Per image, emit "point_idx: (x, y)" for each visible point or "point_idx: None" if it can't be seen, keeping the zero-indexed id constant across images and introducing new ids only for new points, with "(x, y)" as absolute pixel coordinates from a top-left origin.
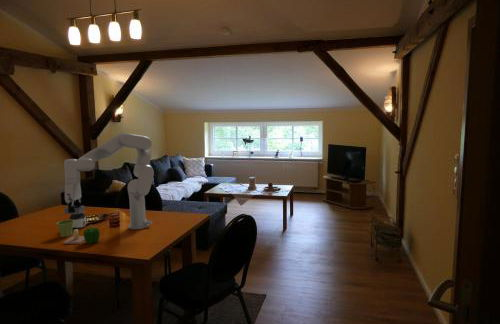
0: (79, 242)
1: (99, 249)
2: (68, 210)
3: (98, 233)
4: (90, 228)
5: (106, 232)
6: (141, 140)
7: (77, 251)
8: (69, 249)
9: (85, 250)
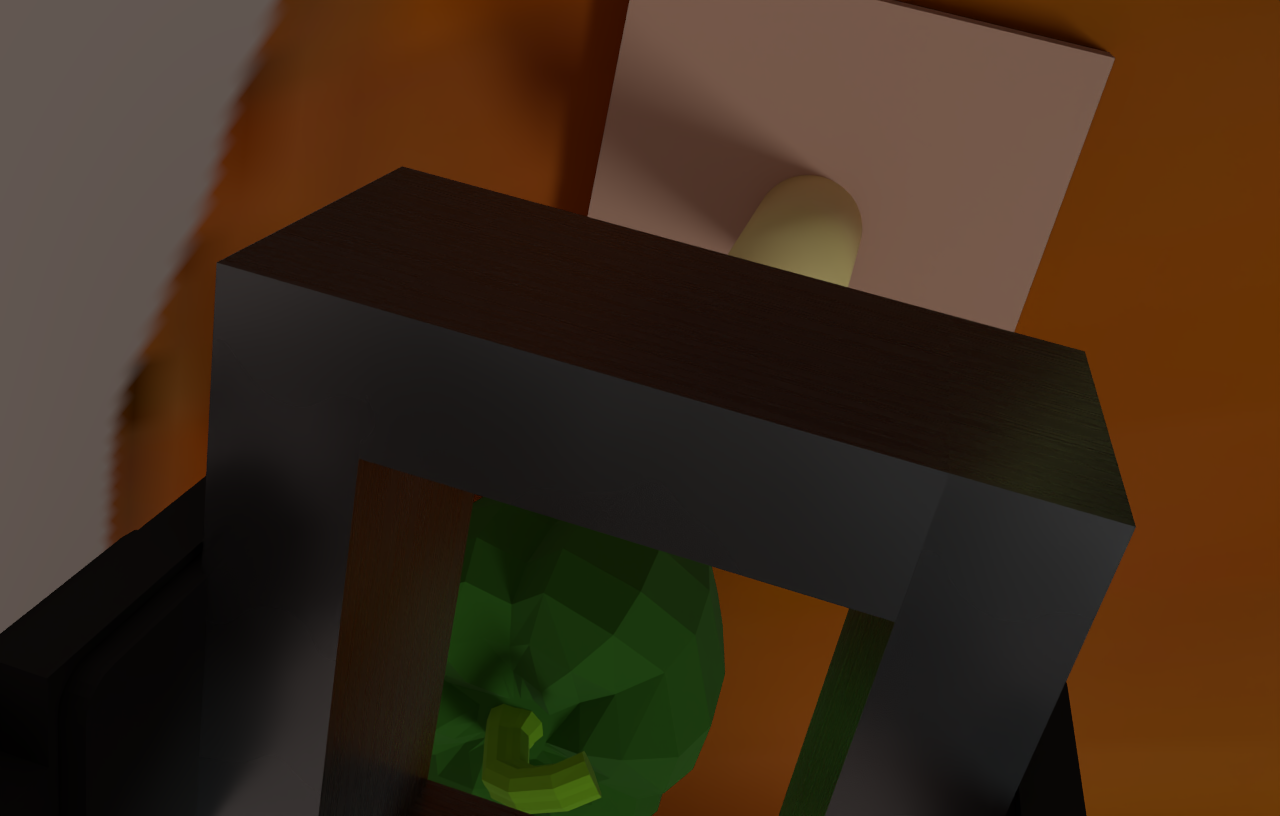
0: None
1: None
2: (201, 498)
3: None
4: (492, 742)
5: (1228, 785)
6: None
7: (167, 372)
8: (277, 198)
9: None
